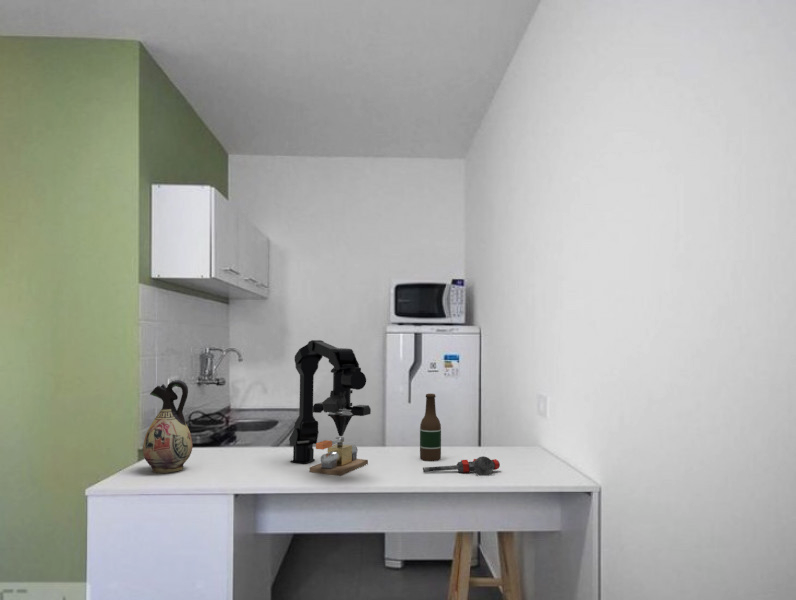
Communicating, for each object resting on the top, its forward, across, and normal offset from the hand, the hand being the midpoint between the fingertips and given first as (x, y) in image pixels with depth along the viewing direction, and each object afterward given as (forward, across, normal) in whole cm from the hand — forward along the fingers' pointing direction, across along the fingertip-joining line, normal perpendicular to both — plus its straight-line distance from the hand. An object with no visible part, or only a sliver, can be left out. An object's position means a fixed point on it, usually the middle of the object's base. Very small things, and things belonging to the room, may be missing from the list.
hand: (340, 436), depth 180 cm
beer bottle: (+13, +17, +37) cm, 43 cm away
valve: (+13, +32, +25) cm, 43 cm away
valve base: (+13, -6, +10) cm, 18 cm away
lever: (+4, -6, +4) cm, 8 cm away
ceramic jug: (+13, -55, -18) cm, 59 cm away
